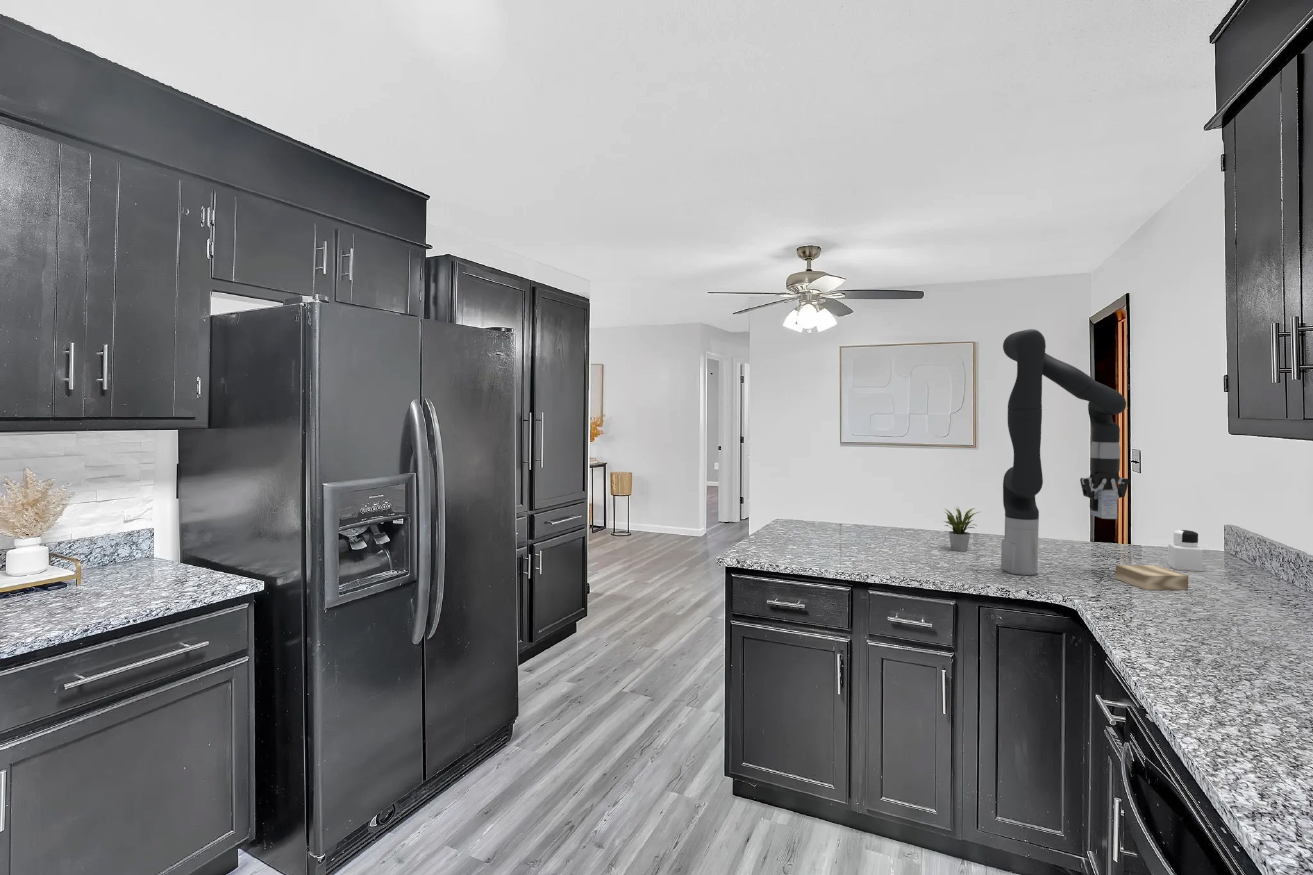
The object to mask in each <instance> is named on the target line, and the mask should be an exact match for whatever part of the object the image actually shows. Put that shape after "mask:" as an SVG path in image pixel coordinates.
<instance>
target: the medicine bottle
mask: <svg viewBox="0 0 1313 875" xmlns="http://www.w3.org/2000/svg"><path fill="white" fill-rule="evenodd" d="M1198 545H1199V533H1198V532H1195V531H1193V530H1188V529H1177V530H1174V531H1173V541H1172V542H1169V543H1168V546H1167V548H1168V552H1167V553H1168V554H1167V565H1168V566H1169V567H1171V568H1172V569H1174V570H1176V571H1177V570H1178V571H1189V572H1191V571H1192V572H1203V567H1204V566H1203V561H1204V560H1203V559H1204V549H1203V548H1201V547H1200V546H1198Z"/></svg>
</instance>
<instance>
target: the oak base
mask: <svg viewBox="0 0 1313 875" xmlns="http://www.w3.org/2000/svg"><path fill="white" fill-rule="evenodd" d="M1115 579H1116V580H1119V581H1121V582H1124V583H1126V584H1128V585H1132V586H1133V587H1137V588H1140V589H1142V590H1144V591H1145V590H1146V591H1150V590H1151V591H1155V590H1156V591H1157V590H1159V591H1162V590H1164V591H1165V590H1166V591H1167V590H1168V591H1169V590H1171V591H1173V590H1174V591H1175V590H1178V591H1179V590H1180V591H1183V590H1189V575H1188V574H1185V573H1181V572H1178V571H1177V570H1176V571H1175V570H1172V569H1170V568H1167V567H1163V566H1161V565H1157V564H1152V565H1151V564H1147V565H1146V564H1134V565H1133V564H1127V565H1126V564H1120V565H1119V564H1116V565H1115Z"/></svg>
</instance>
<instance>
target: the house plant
mask: <svg viewBox="0 0 1313 875" xmlns="http://www.w3.org/2000/svg"><path fill="white" fill-rule="evenodd" d="M975 509H976V508H974V507H973V508H970V509H969V510H967V511H966V512H965V514H964V516H962V512H961V510H960V507H959V506H957V507H955V511H956V515H955V516H954V514H953V513H952V512H951V511H950V510H948V509H946V508H944V510H945V511H944V513H945V514H946V516H947V517H946V518H947V520H948V521H946V520H945V521H943V522H944V523H945V525H944V527H948V528H951V530H952V531H951V530H950V531H948V535H949V541H950V542H949V543H950V548H951V550H952V551H954V552H967V551H968V548H969V542H970V537H971V532H968V531H966V530H967V529H975V527H974V526H976V527H978V525H977V524H975V523H973V524H971V526H970V523H971V522H972V521H974V519H973V520H972V518H973V516H974V515H976V514H977V513H980V511H977V512H974V513H973V512H972V511H973V510H975ZM950 525H951V526H952V527H951V526H950Z"/></svg>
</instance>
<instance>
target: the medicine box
mask: <svg viewBox="0 0 1313 875" xmlns="http://www.w3.org/2000/svg"><path fill="white" fill-rule="evenodd" d="M1096 489H1097V488H1096ZM1117 495H1118V493H1117V491H1114V490H1111V489H1102V490H1101V491H1099V495H1098V499H1097V500H1098V511H1092V510H1091V509H1090V508H1089V513H1090V515H1091V516H1095V517H1097V518H1099V519H1104V520H1117V519H1118V504H1117Z"/></svg>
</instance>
